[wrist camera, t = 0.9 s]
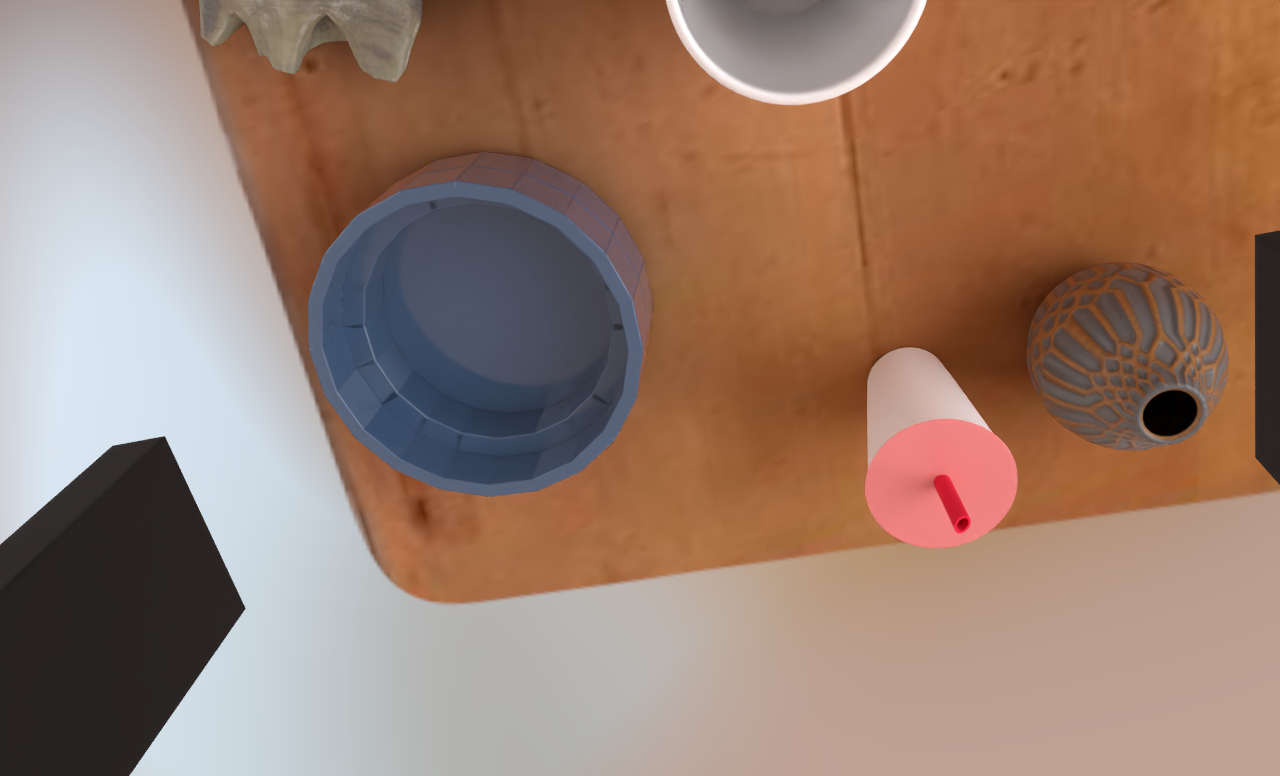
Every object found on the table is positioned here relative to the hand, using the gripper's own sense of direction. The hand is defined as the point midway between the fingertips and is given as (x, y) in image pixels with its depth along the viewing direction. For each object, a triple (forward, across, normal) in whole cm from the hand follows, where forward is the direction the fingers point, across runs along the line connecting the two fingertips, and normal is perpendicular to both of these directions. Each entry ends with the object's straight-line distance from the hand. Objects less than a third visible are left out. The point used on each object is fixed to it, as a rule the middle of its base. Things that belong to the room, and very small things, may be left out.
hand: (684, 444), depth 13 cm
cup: (+32, +5, -15) cm, 36 cm away
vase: (+32, +13, -14) cm, 37 cm away
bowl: (+32, -12, -8) cm, 35 cm away
